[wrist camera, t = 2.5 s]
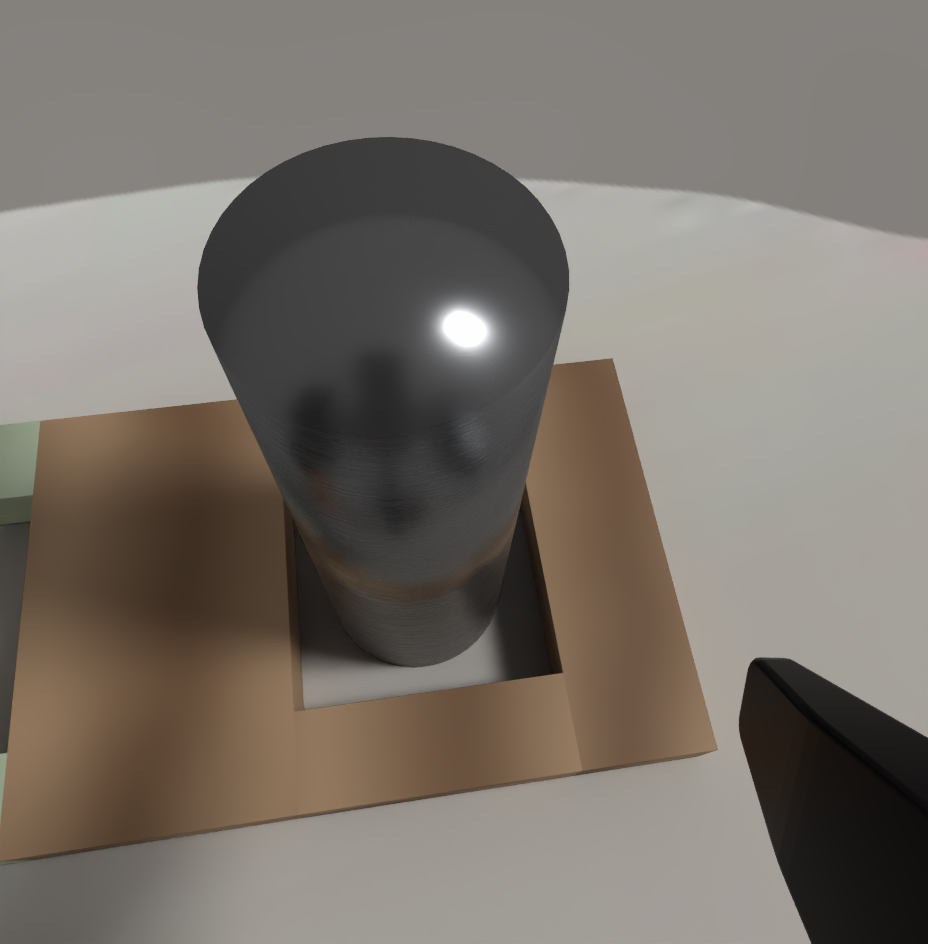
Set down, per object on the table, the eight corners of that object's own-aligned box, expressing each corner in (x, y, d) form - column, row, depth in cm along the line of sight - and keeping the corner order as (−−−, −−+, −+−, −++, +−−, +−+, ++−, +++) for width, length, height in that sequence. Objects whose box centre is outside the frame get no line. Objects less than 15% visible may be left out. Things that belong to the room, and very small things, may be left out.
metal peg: (382, 700, 20) (297, 501, 8) (303, 554, 22) (141, 216, 10) (531, 611, 21) (642, 326, 9) (446, 479, 23) (451, 94, 11)
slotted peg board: (-419, 930, 17) (-496, 937, 16) (-289, 487, 22) (-340, 462, 21) (697, 756, 20) (717, 749, 18) (602, 386, 24) (612, 358, 23)
